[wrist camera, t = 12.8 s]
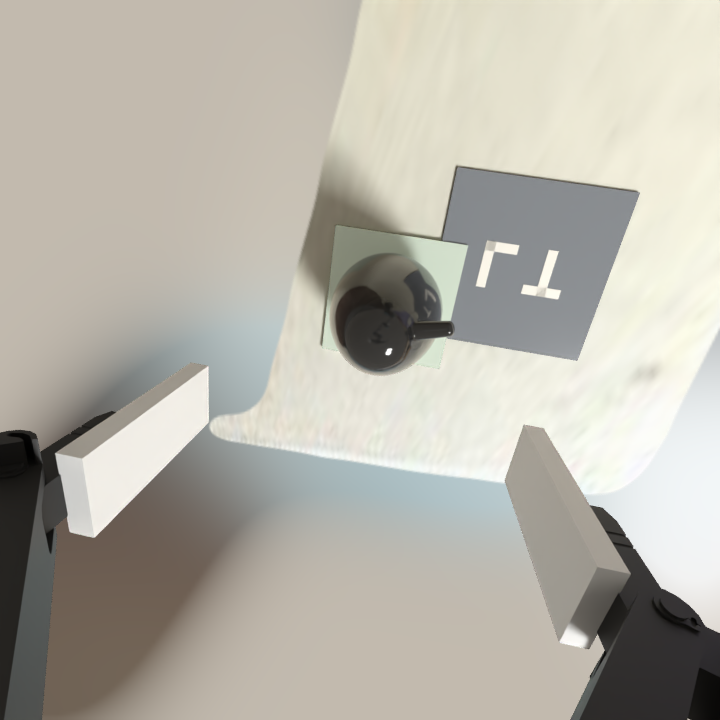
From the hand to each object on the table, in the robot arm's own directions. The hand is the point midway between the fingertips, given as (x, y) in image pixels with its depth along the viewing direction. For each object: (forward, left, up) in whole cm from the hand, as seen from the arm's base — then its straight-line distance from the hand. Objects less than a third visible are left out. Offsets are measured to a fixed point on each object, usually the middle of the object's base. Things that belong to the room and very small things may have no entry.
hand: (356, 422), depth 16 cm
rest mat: (0, 0, -26) cm, 26 cm away
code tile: (-5, +12, -26) cm, 29 cm away
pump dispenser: (0, 0, -26) cm, 26 cm away
